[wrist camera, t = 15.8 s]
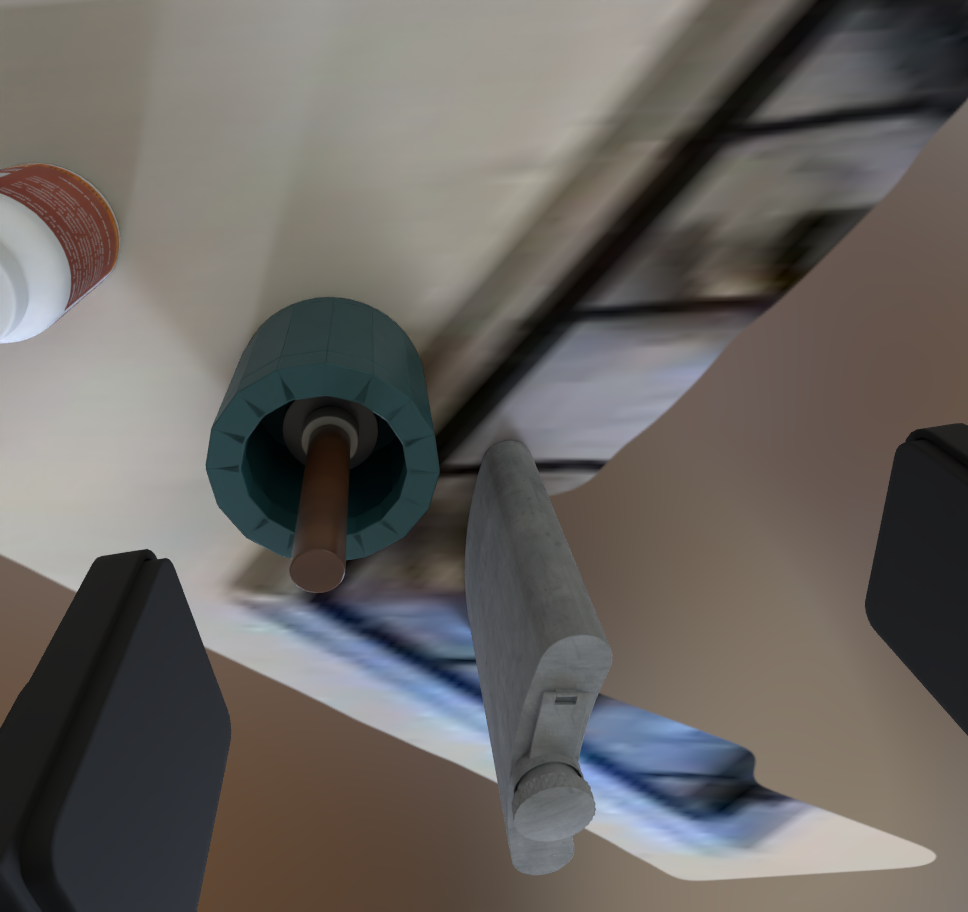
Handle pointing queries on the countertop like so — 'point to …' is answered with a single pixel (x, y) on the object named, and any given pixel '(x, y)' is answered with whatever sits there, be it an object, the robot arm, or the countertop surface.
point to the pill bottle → (50, 246)
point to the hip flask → (532, 657)
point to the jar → (336, 373)
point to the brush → (325, 482)
